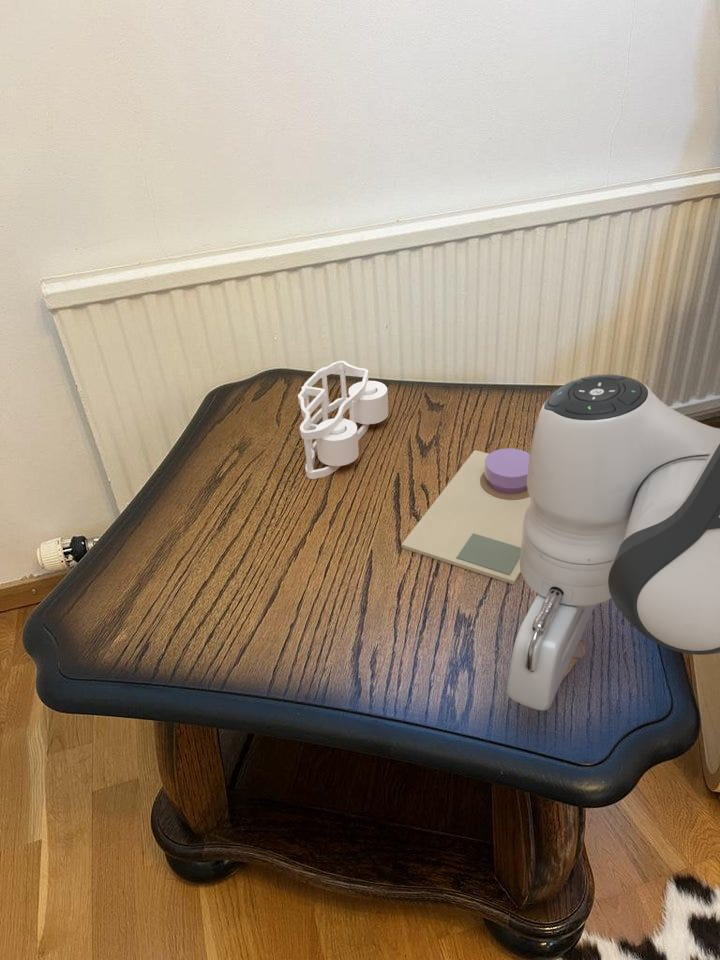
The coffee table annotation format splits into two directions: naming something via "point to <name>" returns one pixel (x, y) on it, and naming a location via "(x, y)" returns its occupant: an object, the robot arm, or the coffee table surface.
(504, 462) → the lavender hockey puck
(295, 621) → the coffee table surface
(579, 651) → the perforated watch strap
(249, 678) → the coffee table surface
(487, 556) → the mat
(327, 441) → the car outline toy
